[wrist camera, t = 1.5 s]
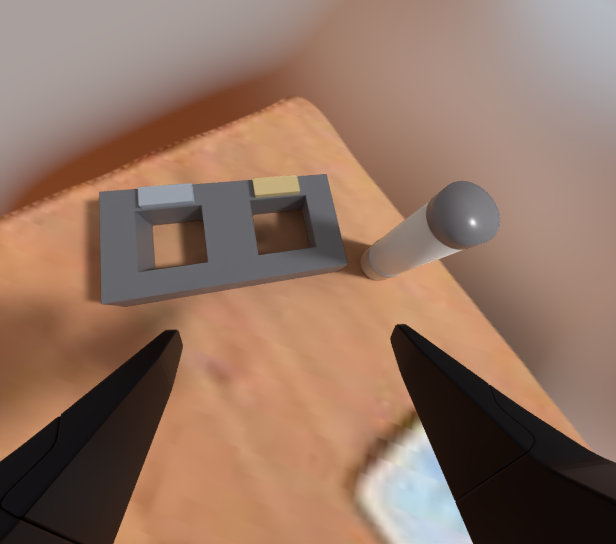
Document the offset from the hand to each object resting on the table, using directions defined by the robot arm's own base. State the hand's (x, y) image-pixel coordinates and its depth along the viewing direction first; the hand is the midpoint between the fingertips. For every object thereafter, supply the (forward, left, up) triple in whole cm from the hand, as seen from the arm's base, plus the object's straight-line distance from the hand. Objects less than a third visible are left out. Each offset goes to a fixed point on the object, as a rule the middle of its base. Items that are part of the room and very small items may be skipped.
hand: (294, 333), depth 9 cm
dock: (-2, +10, -14) cm, 17 cm away
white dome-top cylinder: (+13, +3, -14) cm, 19 cm away
